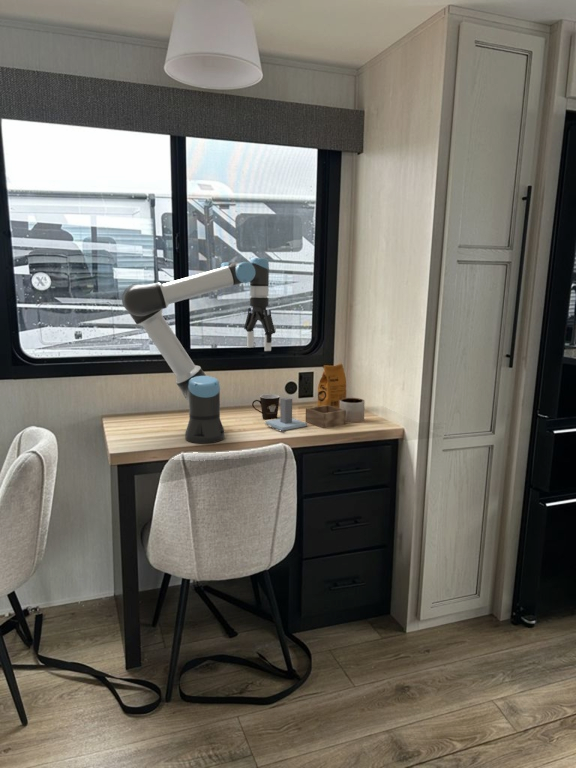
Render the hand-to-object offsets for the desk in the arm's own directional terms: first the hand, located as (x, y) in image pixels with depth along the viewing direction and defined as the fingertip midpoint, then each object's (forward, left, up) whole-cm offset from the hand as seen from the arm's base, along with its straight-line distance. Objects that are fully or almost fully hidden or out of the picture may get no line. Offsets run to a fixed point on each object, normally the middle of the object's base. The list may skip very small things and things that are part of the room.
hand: (258, 349), depth 240 cm
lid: (+7, -10, -32) cm, 35 cm away
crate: (+23, -16, -32) cm, 43 cm away
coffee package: (+42, +3, -33) cm, 53 cm away
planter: (+37, -18, -33) cm, 52 cm away
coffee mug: (+9, +8, -33) cm, 35 cm away
